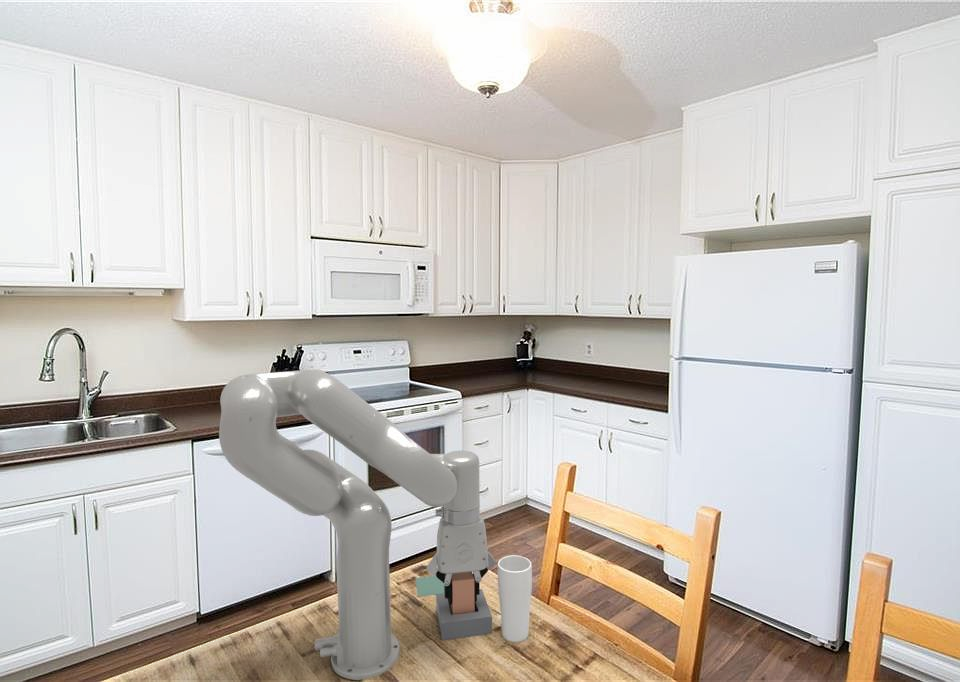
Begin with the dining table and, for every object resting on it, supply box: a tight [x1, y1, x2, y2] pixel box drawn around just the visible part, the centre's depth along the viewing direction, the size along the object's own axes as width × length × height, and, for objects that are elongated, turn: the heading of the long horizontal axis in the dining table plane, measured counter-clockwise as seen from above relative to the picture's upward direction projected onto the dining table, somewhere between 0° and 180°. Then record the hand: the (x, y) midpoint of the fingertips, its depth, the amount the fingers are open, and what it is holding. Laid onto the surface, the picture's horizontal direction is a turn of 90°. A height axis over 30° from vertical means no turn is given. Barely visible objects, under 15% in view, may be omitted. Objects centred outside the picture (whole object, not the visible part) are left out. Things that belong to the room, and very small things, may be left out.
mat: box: [415, 575, 444, 598], centre depth 121 cm, size 8×8×1 cm
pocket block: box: [435, 588, 493, 641], centre depth 108 cm, size 10×10×4 cm
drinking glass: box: [497, 554, 533, 643], centre depth 103 cm, size 7×7×15 cm
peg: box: [450, 571, 475, 615], centre depth 107 cm, size 4×4×10 cm
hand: (462, 598), depth 107 cm, fingers closed on peg, 4 cm apart
